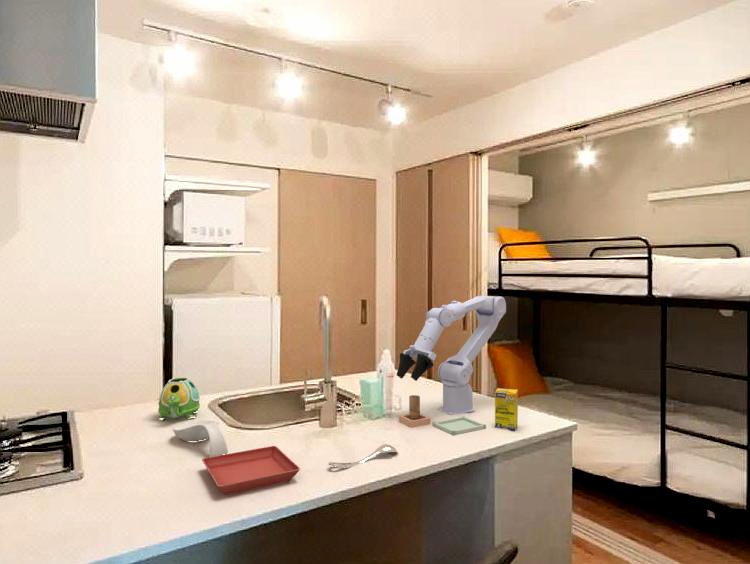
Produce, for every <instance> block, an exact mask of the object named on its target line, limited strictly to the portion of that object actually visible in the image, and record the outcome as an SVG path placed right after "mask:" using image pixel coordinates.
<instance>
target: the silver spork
mask: <svg viewBox="0 0 750 564" xmlns="http://www.w3.org/2000/svg"><path fill="white" fill-rule="evenodd" d="M386 453H387V454H388V453H396V454H399V451H398V450H397V449H396V448H395V447H394V446H392V445H390V444H387V443H385V444H381V445H380V446H378V447H377V448H376V449H375V450H374V451H373V452H372V453H370V454H369V455H368V456H366V457H364V458H362V459H360V460H358V461H355V462H332V461H329V462H328V463H327V464H328V465H329V466H331V467H334V468H338V469H351V468H353V467H355V466H357V465H360V463H361V464H363V463H365V462H367V460H369V459H371V458H373V457H375V456H376V455H380V454H386Z"/></svg>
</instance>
